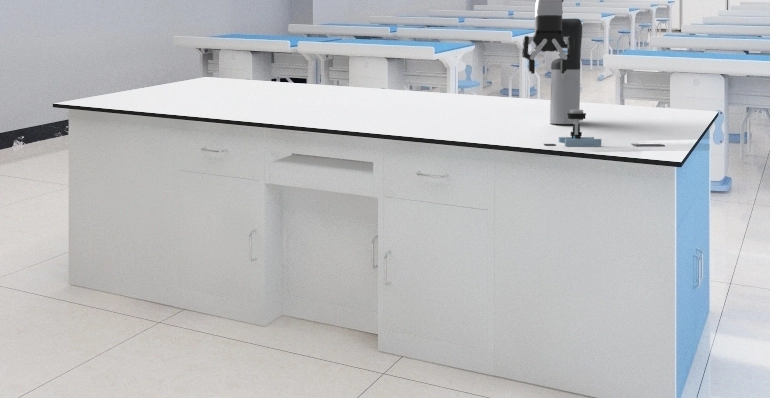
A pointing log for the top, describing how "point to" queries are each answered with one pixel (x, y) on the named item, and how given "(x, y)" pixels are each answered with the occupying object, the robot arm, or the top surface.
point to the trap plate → (550, 144)
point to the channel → (580, 141)
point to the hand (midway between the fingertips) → (547, 73)
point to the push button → (576, 122)
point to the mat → (648, 145)
